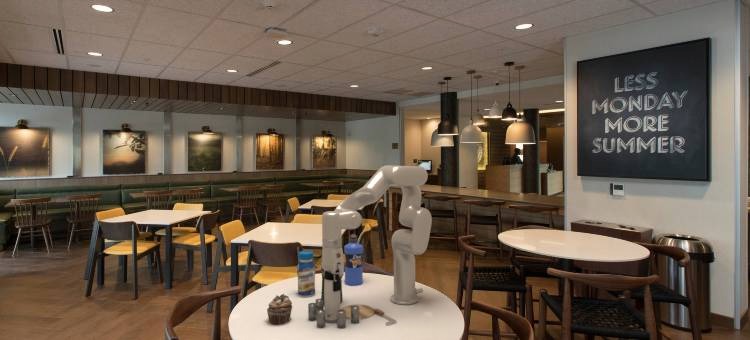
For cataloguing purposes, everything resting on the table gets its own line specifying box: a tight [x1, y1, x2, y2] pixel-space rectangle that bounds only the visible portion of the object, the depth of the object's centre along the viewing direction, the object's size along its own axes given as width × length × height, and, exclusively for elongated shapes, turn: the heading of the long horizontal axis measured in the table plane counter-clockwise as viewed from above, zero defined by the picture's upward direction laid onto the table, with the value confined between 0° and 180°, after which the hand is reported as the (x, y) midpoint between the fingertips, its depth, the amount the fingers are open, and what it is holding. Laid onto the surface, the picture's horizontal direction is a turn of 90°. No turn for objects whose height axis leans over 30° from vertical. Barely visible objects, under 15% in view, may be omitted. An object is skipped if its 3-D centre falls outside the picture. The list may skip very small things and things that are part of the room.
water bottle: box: [343, 233, 364, 287], centre depth 203 cm, size 9×9×25 cm
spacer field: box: [307, 298, 360, 330], centre depth 157 cm, size 16×19×6 cm
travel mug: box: [323, 271, 341, 324], centre depth 156 cm, size 6×7×20 cm
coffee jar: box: [320, 266, 343, 306], centre depth 175 cm, size 10×8×19 cm
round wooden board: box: [340, 304, 375, 320], centre depth 165 cm, size 15×15×1 cm
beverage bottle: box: [296, 250, 316, 298], centre depth 186 cm, size 8×8×20 cm
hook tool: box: [373, 308, 397, 326], centre depth 158 cm, size 13×5×2 cm, turn 36°
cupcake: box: [266, 293, 293, 326], centre depth 156 cm, size 10×10×10 cm
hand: (332, 288), depth 156 cm, fingers closed on travel mug, 6 cm apart
